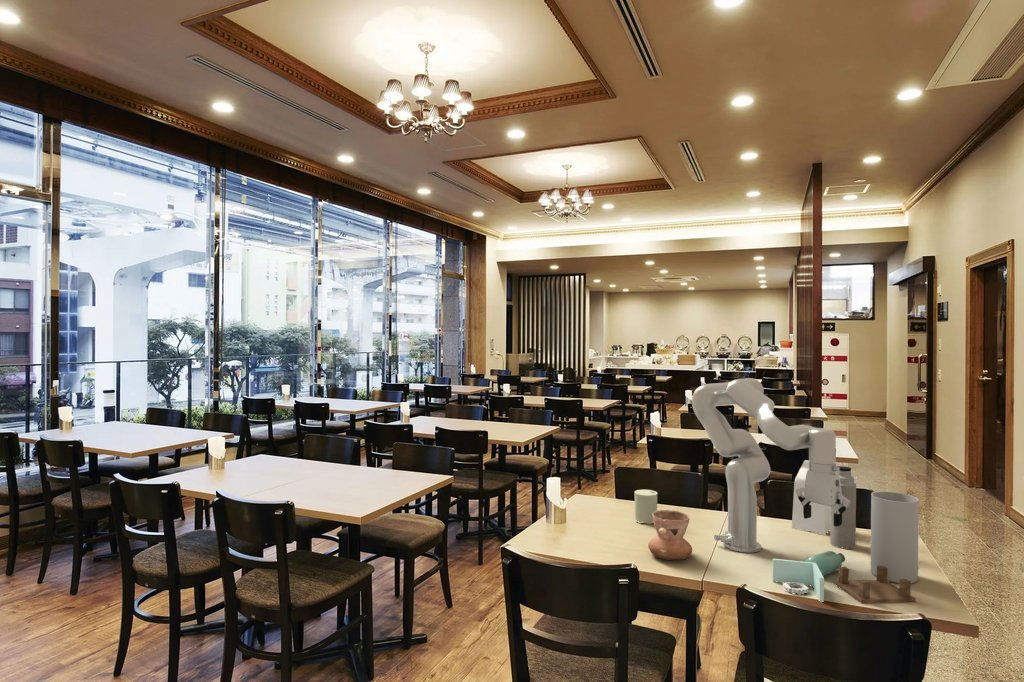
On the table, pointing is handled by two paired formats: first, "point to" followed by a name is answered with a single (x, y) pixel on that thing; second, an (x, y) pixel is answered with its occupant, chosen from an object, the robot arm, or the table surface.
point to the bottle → (827, 561)
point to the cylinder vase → (895, 535)
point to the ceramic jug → (670, 535)
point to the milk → (819, 512)
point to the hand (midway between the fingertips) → (822, 521)
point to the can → (645, 505)
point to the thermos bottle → (845, 513)
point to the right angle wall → (798, 576)
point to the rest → (875, 588)
